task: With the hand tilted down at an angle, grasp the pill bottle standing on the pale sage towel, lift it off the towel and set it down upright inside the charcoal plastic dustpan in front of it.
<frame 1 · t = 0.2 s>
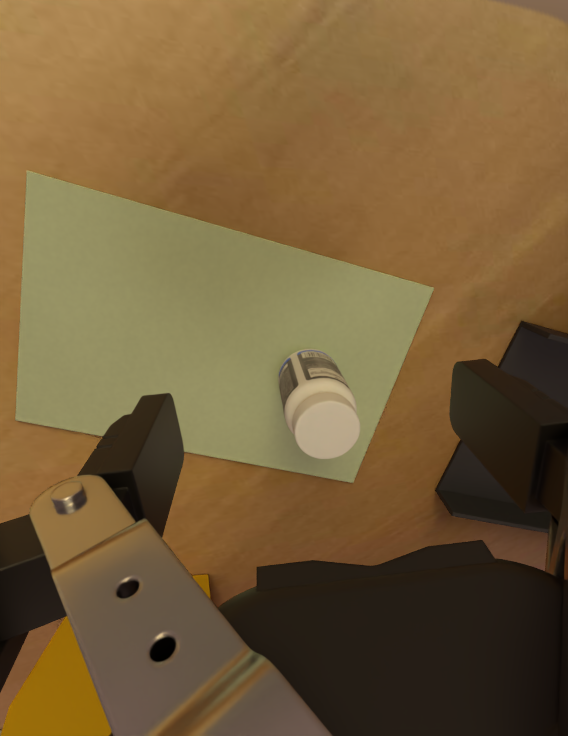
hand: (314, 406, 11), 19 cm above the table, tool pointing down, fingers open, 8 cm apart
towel: (220, 354, 31), on the table
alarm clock: (153, 606, 40), on the table
dustpan: (543, 428, 36), on the table
pill bottle: (307, 374, 32), resting on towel
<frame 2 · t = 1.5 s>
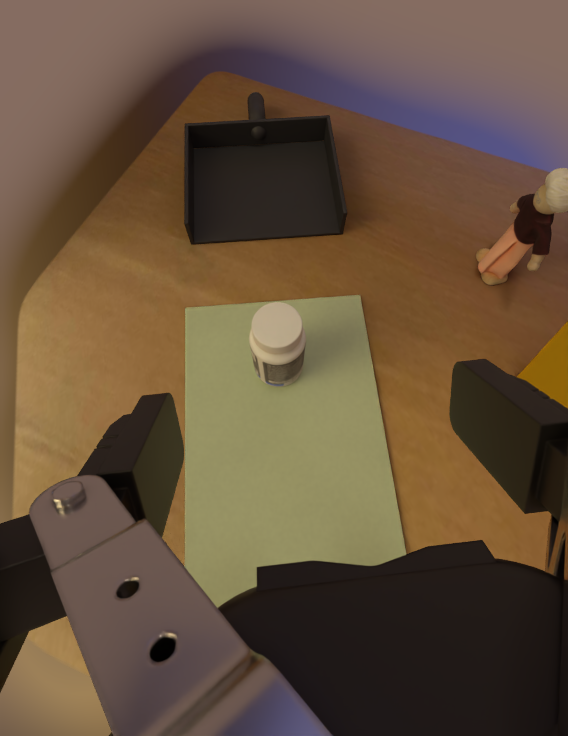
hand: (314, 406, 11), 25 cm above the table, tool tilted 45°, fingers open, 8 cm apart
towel: (285, 436, 37), on the table
dustpan: (263, 190, 47), on the table
grandmother figurine: (491, 272, 43), on the table
pill bottle: (278, 365, 39), resting on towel
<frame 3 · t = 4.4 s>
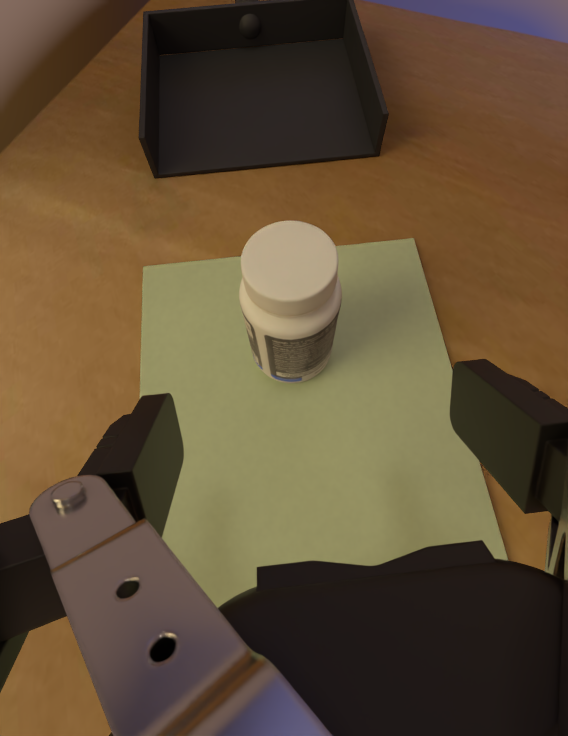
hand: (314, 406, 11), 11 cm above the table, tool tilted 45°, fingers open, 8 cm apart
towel: (307, 467, 22), on the table
dustpan: (259, 104, 33), on the table
pill bottle: (291, 349, 24), resting on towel
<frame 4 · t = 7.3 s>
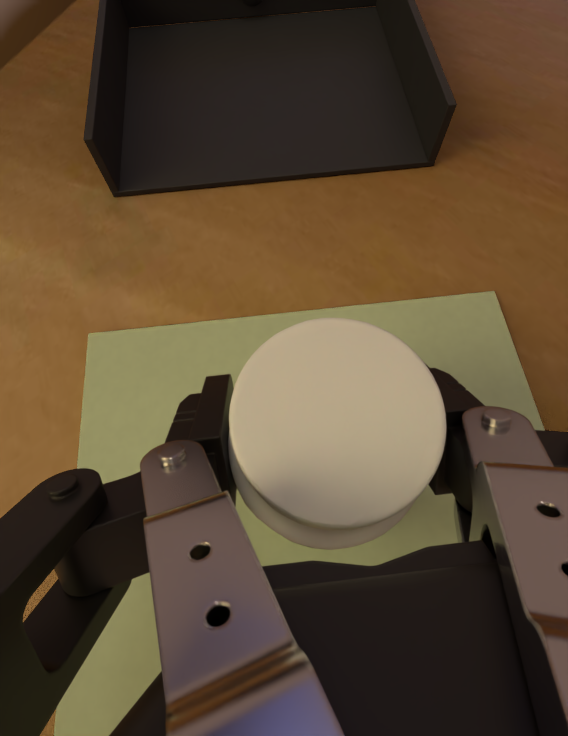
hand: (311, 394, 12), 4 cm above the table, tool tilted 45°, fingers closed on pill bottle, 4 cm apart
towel: (345, 701, 13), on the table
dustpan: (263, 93, 24), on the table
pill bottle: (313, 475, 15), resting on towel, touching gripper
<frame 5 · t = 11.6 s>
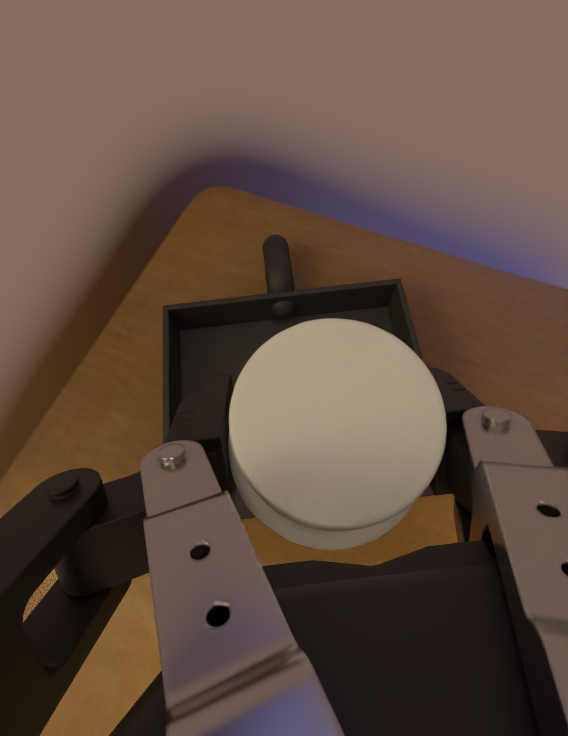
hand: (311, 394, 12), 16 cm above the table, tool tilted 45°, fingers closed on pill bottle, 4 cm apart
dustpan: (295, 406, 28), on the table
pill bottle: (314, 475, 15), point 12 cm above the table, touching gripper
when the fingers open (4 cm above the table, at t = 16.0 s): pill bottle stays where it is, resting on dustpan.
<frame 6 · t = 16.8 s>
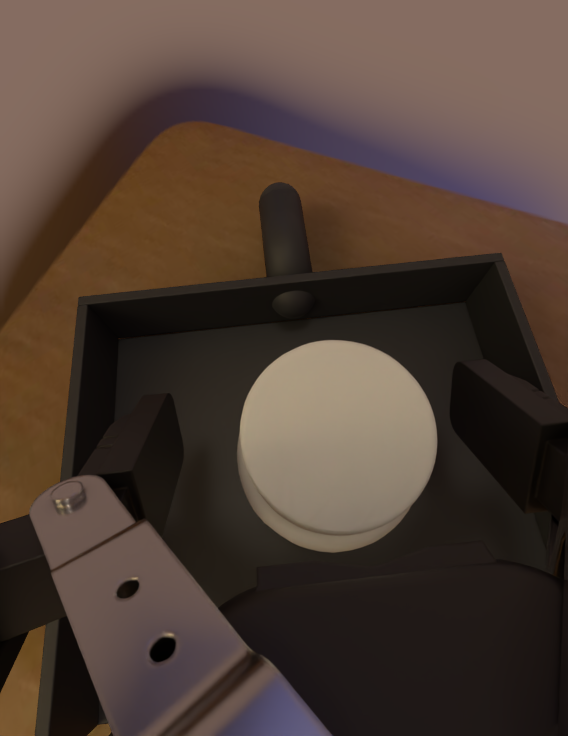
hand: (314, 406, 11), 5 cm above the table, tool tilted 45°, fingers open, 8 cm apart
dustpan: (313, 476, 16), on the table
pill bottle: (316, 480, 16), resting on dustpan
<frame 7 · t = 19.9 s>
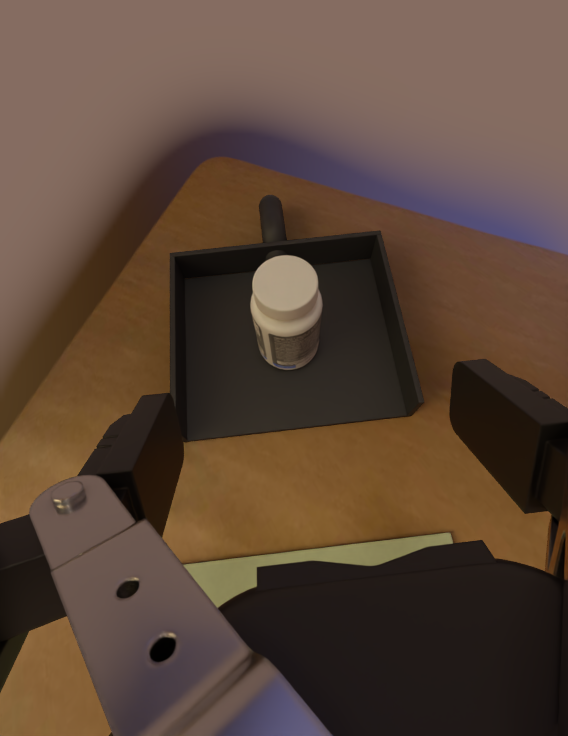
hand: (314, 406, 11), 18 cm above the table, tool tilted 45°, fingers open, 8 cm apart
dustpan: (286, 343, 32), on the table
pill bottle: (288, 344, 32), resting on dustpan
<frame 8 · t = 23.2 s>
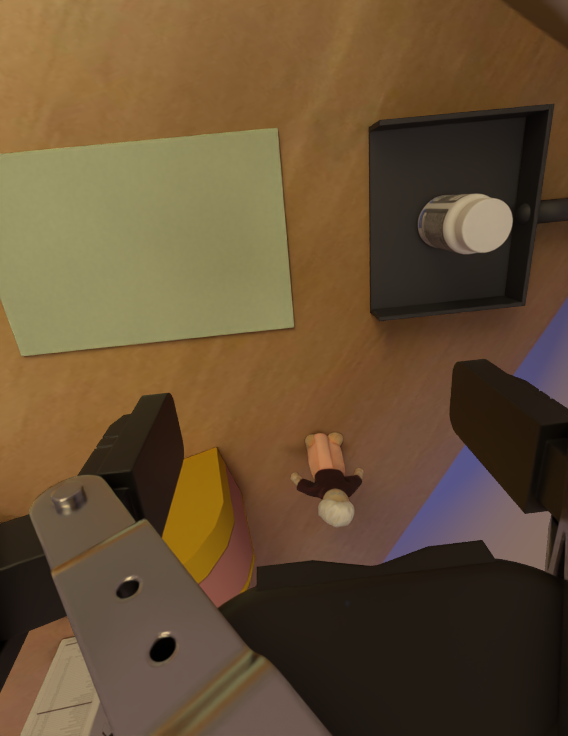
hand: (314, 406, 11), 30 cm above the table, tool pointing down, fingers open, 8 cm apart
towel: (139, 251, 38), on the table
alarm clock: (187, 488, 49), on the table
dustpan: (441, 220, 39), on the table
supplement box: (105, 650, 59), on the table
grandmother figurine: (319, 442, 48), on the table
pill bottle: (440, 221, 39), resting on dustpan
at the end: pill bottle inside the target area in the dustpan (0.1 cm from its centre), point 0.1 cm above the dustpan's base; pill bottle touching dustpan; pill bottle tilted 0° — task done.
